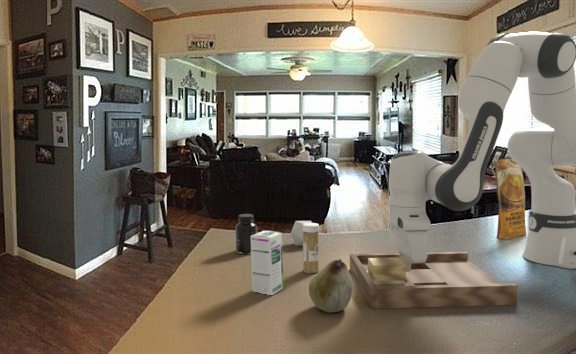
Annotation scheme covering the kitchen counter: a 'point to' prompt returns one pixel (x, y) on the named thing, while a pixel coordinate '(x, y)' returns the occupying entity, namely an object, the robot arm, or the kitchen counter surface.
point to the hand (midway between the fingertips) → (405, 270)
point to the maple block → (386, 269)
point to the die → (298, 232)
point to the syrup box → (267, 262)
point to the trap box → (433, 283)
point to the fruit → (331, 287)
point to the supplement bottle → (245, 233)
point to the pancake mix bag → (510, 199)
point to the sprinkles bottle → (310, 247)
